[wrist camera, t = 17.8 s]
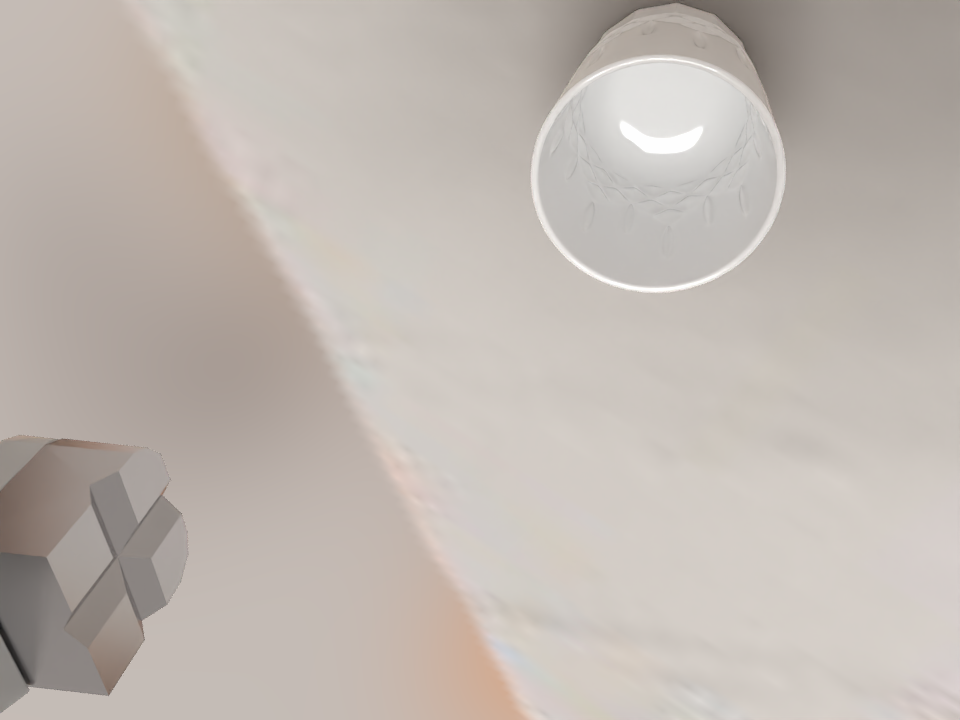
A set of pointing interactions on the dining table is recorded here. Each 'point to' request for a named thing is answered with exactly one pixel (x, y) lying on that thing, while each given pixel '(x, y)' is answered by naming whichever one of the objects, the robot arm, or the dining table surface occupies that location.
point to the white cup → (660, 155)
